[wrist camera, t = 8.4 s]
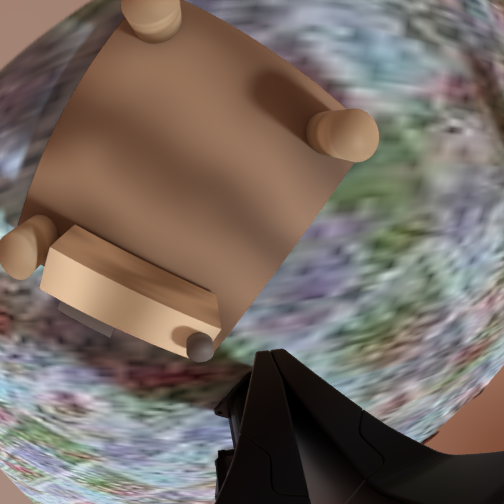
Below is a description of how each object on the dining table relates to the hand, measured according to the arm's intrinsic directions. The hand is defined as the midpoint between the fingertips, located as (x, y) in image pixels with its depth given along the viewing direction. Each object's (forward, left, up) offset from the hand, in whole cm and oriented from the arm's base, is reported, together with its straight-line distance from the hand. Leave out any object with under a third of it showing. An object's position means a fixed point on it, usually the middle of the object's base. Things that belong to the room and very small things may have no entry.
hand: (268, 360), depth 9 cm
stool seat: (+2, +5, -12) cm, 13 cm away
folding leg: (-5, +4, -9) cm, 11 cm away
